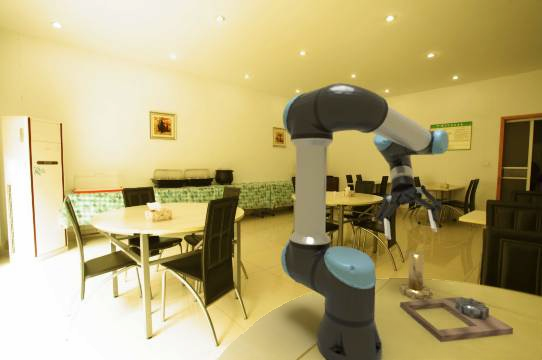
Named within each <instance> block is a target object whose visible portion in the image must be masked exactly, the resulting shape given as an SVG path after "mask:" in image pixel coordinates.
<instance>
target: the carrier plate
mask: <svg viewBox="0 0 542 360" xmlns="http://www.w3.org/2000/svg"><path fill="white" fill-rule="evenodd" d="M459 297H460V296H457V297H454V296H453V297H447V298H446V297H445V298H443V297H442V298H434V299H432V298H430V299H428V300H419V299H418V300H411V301H401V302H400V304H399V305H400V306H399V307H400V308H401V309H402V310H403V311H404V312H406V313H407V314H408V315H409V316H410V317H412V319H414V320H415V321H416V323H418V324H420V325H421V326H422V327H423V328H425V330H427V332H429V333H430V334H431V335H432V336H433V337H435V339H437V340H438V341H439V342H442V343H443V342H449V341H460V340H467V339H469V340H470V339H477V338H484V337H485V338H486V337H495V336H502V335H512V334H514V333H513V332H514V330H513V329H514V327H512V326H510V325H509V324H507V323H505V322H503V321H502V320H500V319H498V318H497V317H495V316H494V315H491V314H490V313H489V318H488V317H486V320H481V319H476V318H474V319H472V318H469V317H468V316H466V315H464V314H460V313H459V312H458V309H455V304H456V299H459ZM441 308H443V309H444V310H446V311H447V312H449V313H450V314H452V315H453V316H455V317H456V318H457V319H458V320H461V321H462V322H463V323H465V324H466V325H468V326H463V327H453V328H445V329H438V328H437V327H435V326H434V325H433V324H432V323H430V322H429V321H428V320H427V319H426V318H425V317H424V316H422V315H420V314H419V312H417V311H419V310H428V309H441ZM416 310H417V311H416Z"/></svg>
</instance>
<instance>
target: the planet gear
mask: <svg viewBox="0 0 542 360" xmlns="http://www.w3.org/2000/svg"><path fill="white" fill-rule="evenodd" d="M424 266H425V254H424V253H423V252H420V251H414V250H413V251H409V253H408V280H405V281H404V282H402V283H401V282H400V283H399V291H400V294H401V295H403V296H407V297H408V298H410V299H412V300H413V301H416V300H418V301H419V300H430V299H432V298H433V290H431V289H430V288H431V287H430V286H428V285H424V271H425V270H424V269H425V267H424Z"/></svg>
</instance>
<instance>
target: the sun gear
mask: <svg viewBox="0 0 542 360" xmlns="http://www.w3.org/2000/svg"><path fill="white" fill-rule="evenodd" d="M458 297H459V299H456V304H455V309H458V312H459V313H460V314H464V315H466V316H468V317H469V318H472V319H474V318H476V319H481V320H486V317H488V318H489V314H490V308H489V306H487V305H486V303H485V302H483V301H479V300H477V299H474V298H473V297H469V298H468V297H462V296H458Z"/></svg>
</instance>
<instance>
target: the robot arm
mask: <svg viewBox="0 0 542 360" xmlns="http://www.w3.org/2000/svg"><path fill="white" fill-rule="evenodd" d="M282 123H283V128H284V129H286V132H287V134H288V135H289V136H290V142H291V144H292V145H293V146H294V147H295V186H294V187H295V190H294V192H295V194H294V195H295V197H294V198H295V201H294V208H295V209H294V231H293V232H292V233H291V234H290V235H289V239H288V241H287V242H286V244H285V245H284V246H285V247H284V248H282V251H281V255H280V257H281V258H280V261H281V267H282V269H283V272H284V273H285V274H286V275H287V276H288V277H289V278H290V279H292V280H293V281H294V282H295V283H297V284H300V285H303V286H305V287H306V288H308V289H310V290H311V291H313V292H315V293H316V294H319V295H321V296H323V298H324V313H323V316H322V319H321V322H320V325H319V327H318V330H317V335H316V336H317V339H316V340H317V341H316V342H317V343H316V344H317V347H318V350H319V351H320V354H322V356H323V357H324V358H325V359H326V360H382V358H383V357H382V356H383V353H382V352H383V345H382V340H381V337H380V335H379V330H378V328H377V325H376V322H375V310H376V308H375V307H376V284H377V283H376V282H377V277H376V266H375V262H374V261H373V259H372V258H371V257H370V255H368V254H366V253H365V252H363V251H361V250H358V249H356V248H354V247H346V246H343V245H342V246H341V245H340V246H339V245H338V246H337V245H335V246H331V245H332V244H331V237H330V236H329V235H328V234H327V233H326V215H327V214H326V212H327V210H326V209H327V206H326V205H327V169H328V168H327V166H328V165H327V164H328V163H327V162H328V159H327V157H328V154H327V153H328V148H329V146H330V145H331V144H332V143H333V141H334V140H333V139H334V133H337V132H338V133H339V132H346V131H356V132H360V133H363V134H371V133H373V134H375V135H374V138H373V144H374V146H375V147H376V149H377V151H378V152H379V153H380V155H381V156H382V157H383V158H384V160H385V161H386V162H387V164H388V166H389V173H390V174H389V175H390V183H391V191H392V192H391V195H387V194H384V195H383V197H382V202H381V204H380V206H379V209H378V211H377V213H376V215H375V219H376V220H377V222H379V223H380V222H381V228H382V229H383V231H384V237H386V239H387V240H389V241H391V240H392V237H391V236H392V235H391V225H390V224H391V223H390V221H389V219H390V218H391V216H392V215H393V214H394V213H395V212H396V210H397V209H398V208H400V206H405V205H407V204H411V203H413V202H414V203H415V204H418V205H420V206H421V207H423V208H424V209H427V213H428V219H429V225H430V229H431V230H432V232H433V233H438V229H437V225H436V222H439V215H438V212H439V211H442V210H443V209H444V207H443V205H442V204H441V202H440V201H438V199H436V197H434V196H433V195H432V194H431V193H430V192H429V191H428V190H427V188H426V185H424V184H422V185H420V187H418V188H416V187H417V186H416V182H415V178H414V177H415V176H414V170H413V166H412V165H413V164H412V158H411V156H425V155H426V156H429V155H430V156H435V155H443V154H445V153H446V152H447V150H448V147H449V141H450V140H449V134H448V133H447V132H446V131H445V130H444V129H441V130H440V129H435V130H429V129H428V128H426V127H424V126H423V125H421V124H419V123H418V122H416V121H415V120H413V119H411V118H409V117H407V116H406V115H405V114H403V113H401V112H399V111H398V110H396V109H395V108H393V107H391V106H389V103H388V101H387V100H386V99H385V98H384V97H382V96H381V95H379V94H378V93H376V92H374V91H372V90H369V89H367V88H365V87H362V86H358V85H354V84H350V83H340V82H339V83H332V84H329V85H326V86H324V87H323V86H322V87H320V88H317V89H314V90H312V91H311V90H310V91H308V92H303V93H301V94H299V95H297V96H295V97H293V98H291V99H290V100H289V101H288V102H287V104H286V105H285V106H284V110H283V114H282ZM418 194H422V195H424V196H425V197H426V199H428V201H430V203H429V202H427V201H426V200H423V199H422V198H421V197H418ZM381 357H382V358H381Z"/></svg>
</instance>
